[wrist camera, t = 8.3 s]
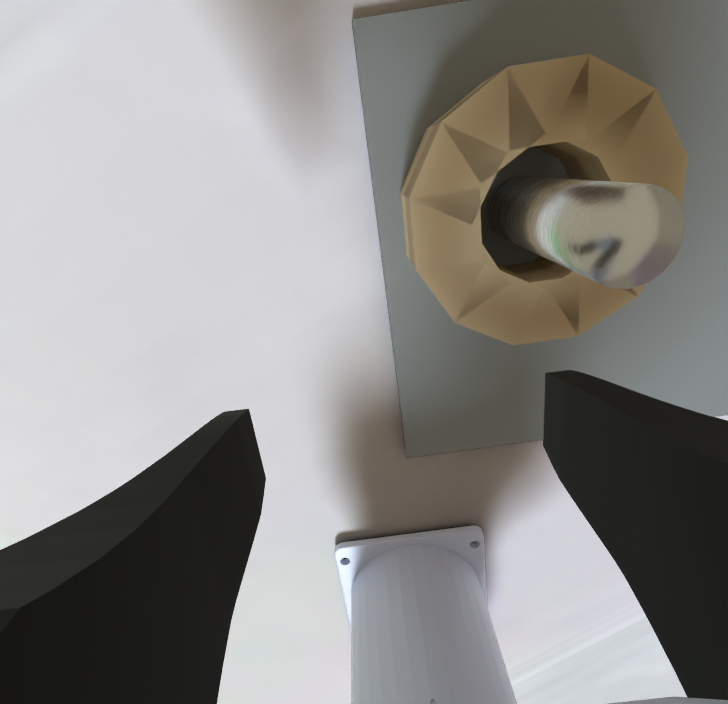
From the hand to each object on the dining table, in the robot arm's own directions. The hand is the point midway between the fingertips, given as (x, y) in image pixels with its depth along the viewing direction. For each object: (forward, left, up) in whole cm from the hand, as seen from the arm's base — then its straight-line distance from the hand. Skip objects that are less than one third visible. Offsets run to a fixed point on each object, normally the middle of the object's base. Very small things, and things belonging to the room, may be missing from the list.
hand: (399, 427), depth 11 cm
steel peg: (+4, -6, -9) cm, 11 cm away
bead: (+4, -6, -9) cm, 11 cm away
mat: (+2, -8, -10) cm, 13 cm away
